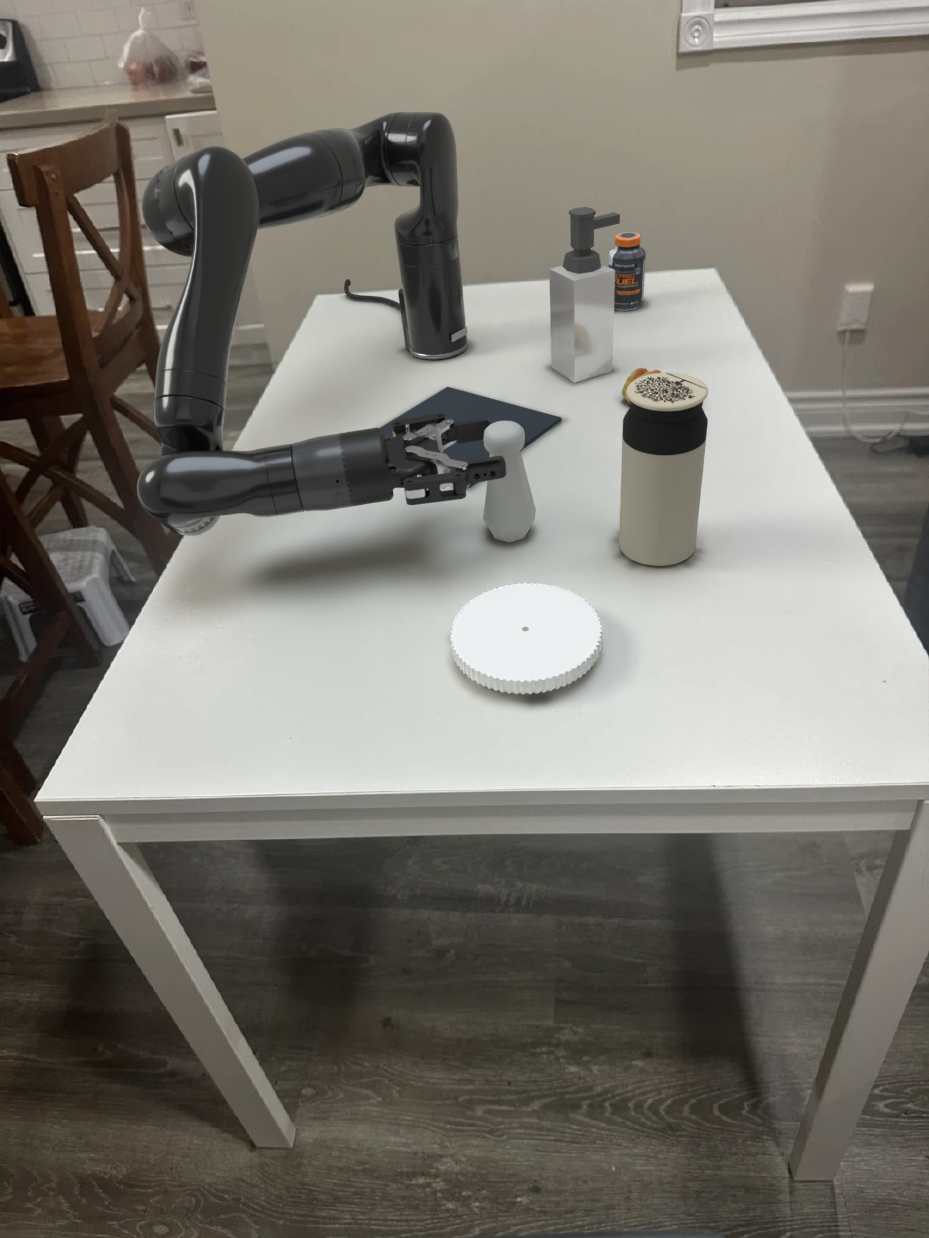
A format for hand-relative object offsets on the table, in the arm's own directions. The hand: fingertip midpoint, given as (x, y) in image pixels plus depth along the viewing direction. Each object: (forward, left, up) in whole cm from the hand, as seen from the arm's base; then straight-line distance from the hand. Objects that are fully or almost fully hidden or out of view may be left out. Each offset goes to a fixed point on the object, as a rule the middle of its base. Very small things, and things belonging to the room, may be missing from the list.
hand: (497, 446), depth 90 cm
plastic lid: (+14, -14, -11) cm, 23 cm away
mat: (-19, +16, -11) cm, 27 cm away
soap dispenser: (-15, +42, -11) cm, 46 cm away
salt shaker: (+1, +1, -11) cm, 11 cm away
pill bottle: (-23, +65, -11) cm, 70 cm away
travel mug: (+16, +7, -11) cm, 20 cm away
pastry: (-1, +37, -11) cm, 38 cm away
